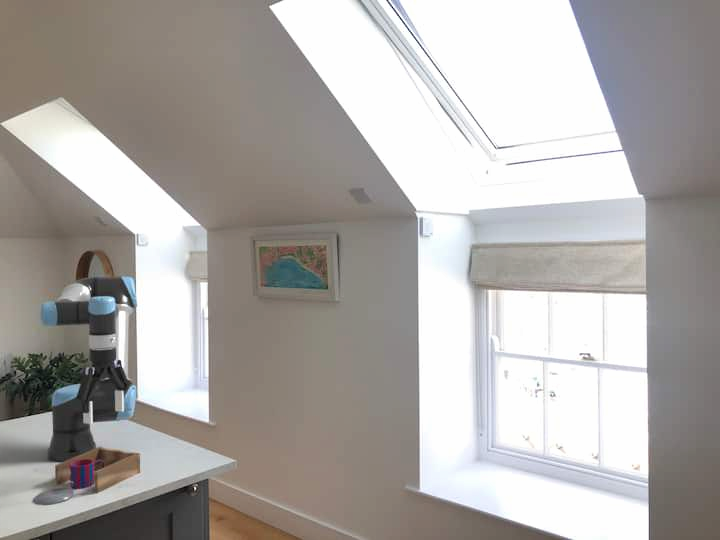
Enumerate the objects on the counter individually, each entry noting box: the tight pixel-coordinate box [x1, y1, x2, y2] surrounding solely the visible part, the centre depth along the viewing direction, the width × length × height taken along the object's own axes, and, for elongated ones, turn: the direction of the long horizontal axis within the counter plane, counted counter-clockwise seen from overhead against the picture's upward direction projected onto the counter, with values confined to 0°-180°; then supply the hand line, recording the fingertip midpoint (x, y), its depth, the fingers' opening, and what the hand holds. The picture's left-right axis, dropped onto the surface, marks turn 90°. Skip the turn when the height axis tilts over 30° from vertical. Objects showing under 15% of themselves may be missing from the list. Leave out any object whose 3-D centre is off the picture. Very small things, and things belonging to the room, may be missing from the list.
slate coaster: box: [34, 487, 75, 505], centre depth 183 cm, size 10×10×1 cm
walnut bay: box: [54, 446, 141, 494], centre depth 197 cm, size 16×18×6 cm
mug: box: [69, 459, 105, 490], centre depth 193 cm, size 7×10×7 cm
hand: (104, 417), depth 195 cm, fingers open, 13 cm apart
